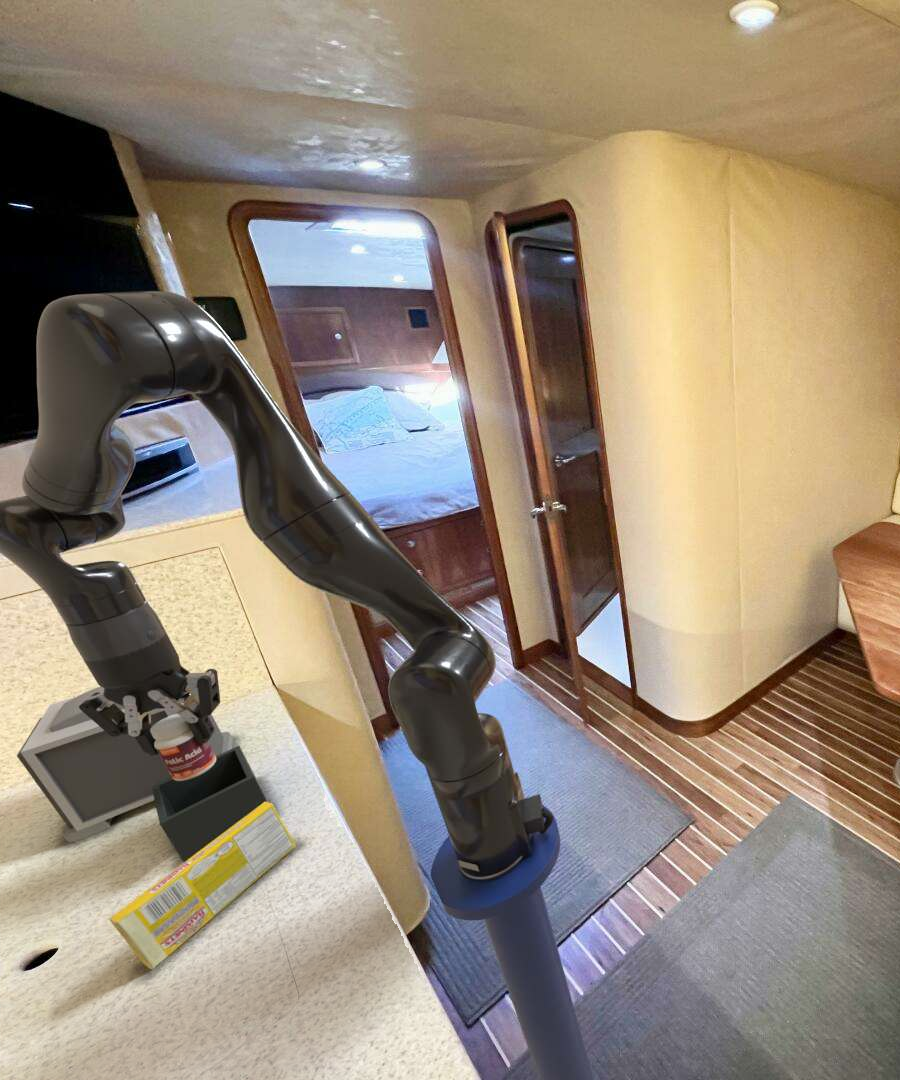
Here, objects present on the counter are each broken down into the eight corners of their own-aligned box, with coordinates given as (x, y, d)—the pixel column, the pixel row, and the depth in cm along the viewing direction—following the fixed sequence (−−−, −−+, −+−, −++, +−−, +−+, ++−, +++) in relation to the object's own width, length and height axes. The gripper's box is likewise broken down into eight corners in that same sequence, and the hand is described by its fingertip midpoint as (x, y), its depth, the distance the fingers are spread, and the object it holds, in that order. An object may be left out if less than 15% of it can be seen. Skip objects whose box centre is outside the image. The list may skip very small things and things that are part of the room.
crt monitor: (233, 736, 97) (189, 651, 90) (229, 778, 87) (180, 687, 81) (87, 791, 87) (26, 700, 80) (65, 846, 77) (-8, 748, 70)
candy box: (287, 843, 75) (265, 799, 72) (297, 847, 75) (275, 803, 72) (141, 964, 61) (106, 917, 58) (152, 971, 61) (117, 923, 57)
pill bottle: (172, 788, 73) (144, 740, 70) (174, 769, 76) (147, 722, 73) (218, 768, 76) (192, 721, 73) (217, 751, 79) (193, 705, 76)
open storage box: (273, 814, 80) (254, 776, 77) (184, 864, 73) (159, 824, 70) (257, 781, 86) (239, 745, 84) (174, 824, 80) (151, 786, 77)
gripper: (207, 615, 73) (255, 714, 80) (73, 640, 69) (135, 742, 76) (177, 643, 67) (232, 748, 73) (26, 672, 63) (98, 781, 69)
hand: (182, 745), depth 74 cm, fingers closed on pill bottle, 4 cm apart
